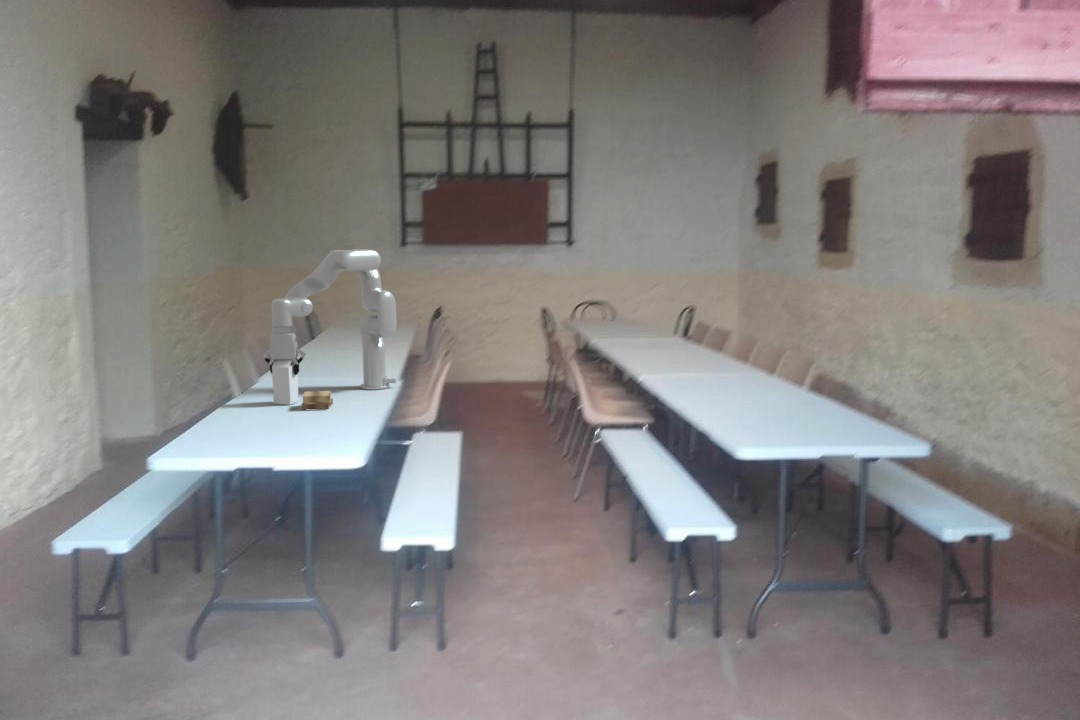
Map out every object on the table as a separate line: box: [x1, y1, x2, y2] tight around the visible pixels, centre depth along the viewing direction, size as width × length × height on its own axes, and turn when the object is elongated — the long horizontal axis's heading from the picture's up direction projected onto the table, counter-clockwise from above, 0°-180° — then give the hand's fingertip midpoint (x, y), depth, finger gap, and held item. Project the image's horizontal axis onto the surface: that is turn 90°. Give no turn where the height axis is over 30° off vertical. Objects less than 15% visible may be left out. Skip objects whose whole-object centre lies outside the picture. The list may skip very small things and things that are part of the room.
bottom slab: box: [301, 397, 334, 411], centre depth 342 cm, size 10×10×3 cm
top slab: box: [302, 390, 332, 404], centre depth 341 cm, size 10×10×3 cm
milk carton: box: [271, 359, 300, 406], centre depth 349 cm, size 7×7×19 cm
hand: (284, 374), depth 348 cm, fingers closed on milk carton, 8 cm apart
